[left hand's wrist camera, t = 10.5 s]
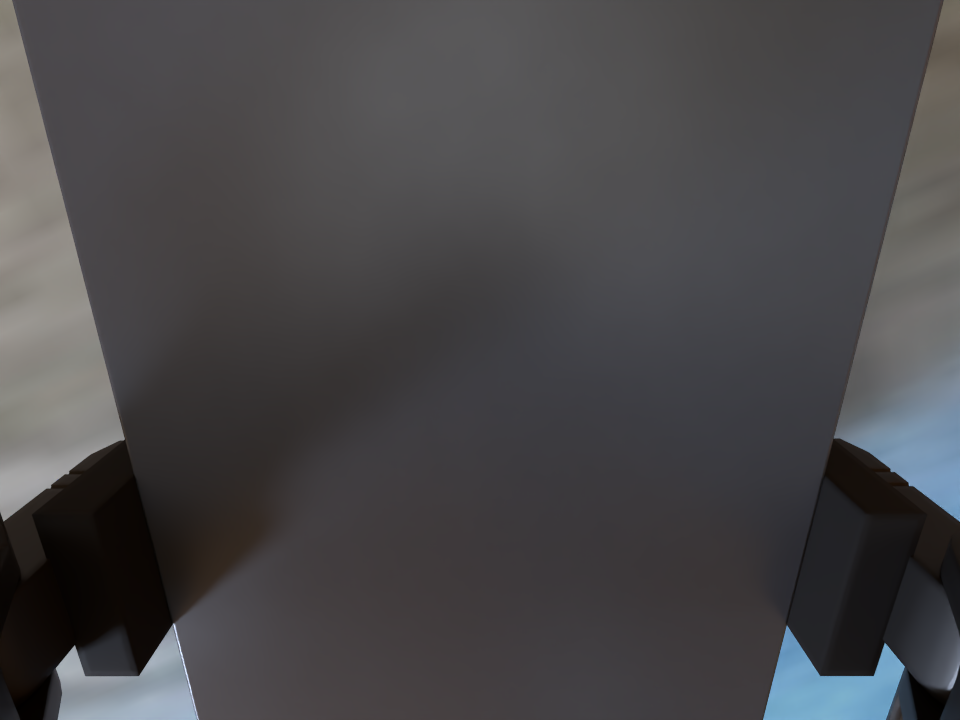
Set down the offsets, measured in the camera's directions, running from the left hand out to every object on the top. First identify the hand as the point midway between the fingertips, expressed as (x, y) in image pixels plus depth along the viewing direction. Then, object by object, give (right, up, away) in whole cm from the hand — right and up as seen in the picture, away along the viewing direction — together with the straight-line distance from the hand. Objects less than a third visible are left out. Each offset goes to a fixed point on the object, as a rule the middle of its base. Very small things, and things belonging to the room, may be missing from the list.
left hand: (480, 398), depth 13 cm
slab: (0, +22, -8) cm, 23 cm away
